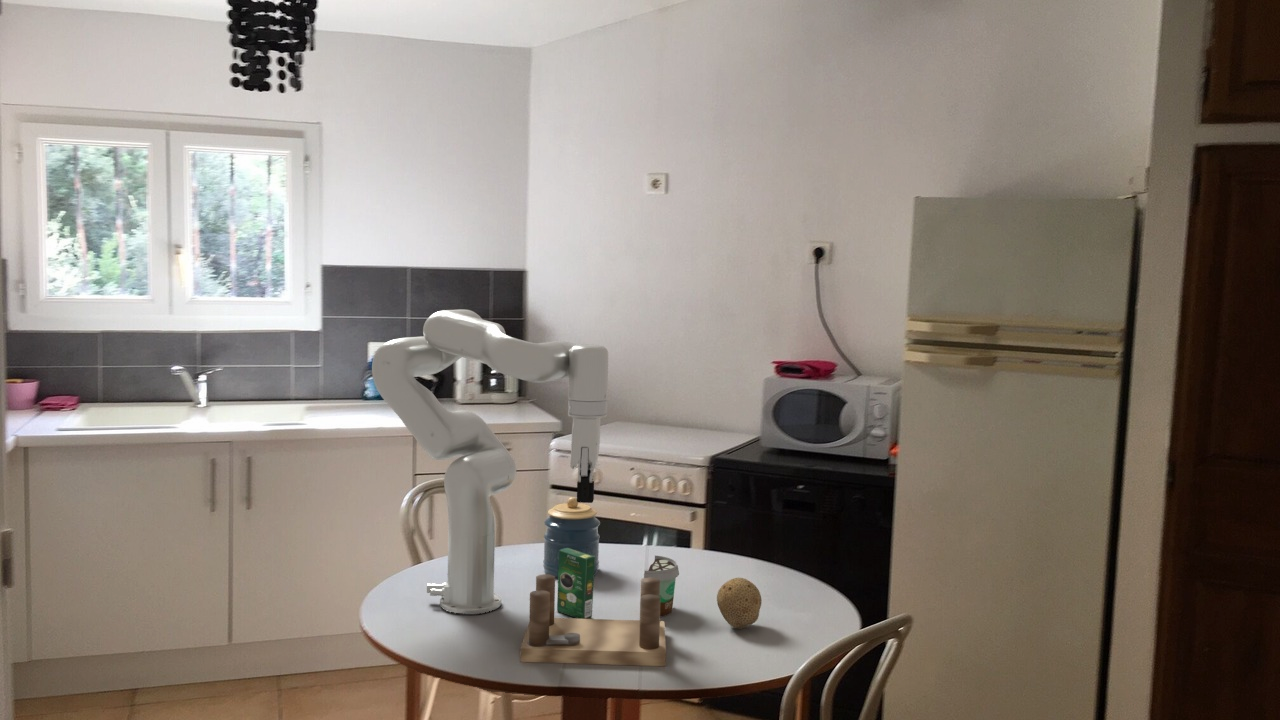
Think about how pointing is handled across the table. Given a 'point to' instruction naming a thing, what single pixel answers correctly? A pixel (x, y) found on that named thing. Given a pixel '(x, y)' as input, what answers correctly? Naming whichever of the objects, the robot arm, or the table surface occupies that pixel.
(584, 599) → the coffee box
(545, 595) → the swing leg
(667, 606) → the food container
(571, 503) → the canister
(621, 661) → the wooden peg board
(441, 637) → the table surface
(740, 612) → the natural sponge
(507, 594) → the table surface
